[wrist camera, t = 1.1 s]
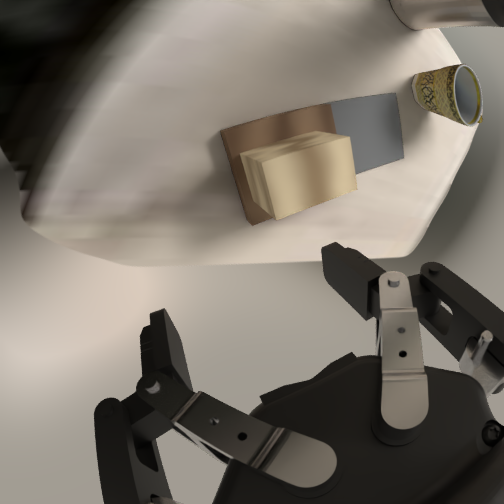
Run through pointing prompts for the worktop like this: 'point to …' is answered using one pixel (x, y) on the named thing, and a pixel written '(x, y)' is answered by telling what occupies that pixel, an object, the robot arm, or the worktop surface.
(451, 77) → the ceramic cup
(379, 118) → the mat
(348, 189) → the block
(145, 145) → the worktop surface
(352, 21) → the worktop surface
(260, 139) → the brown flat slab
